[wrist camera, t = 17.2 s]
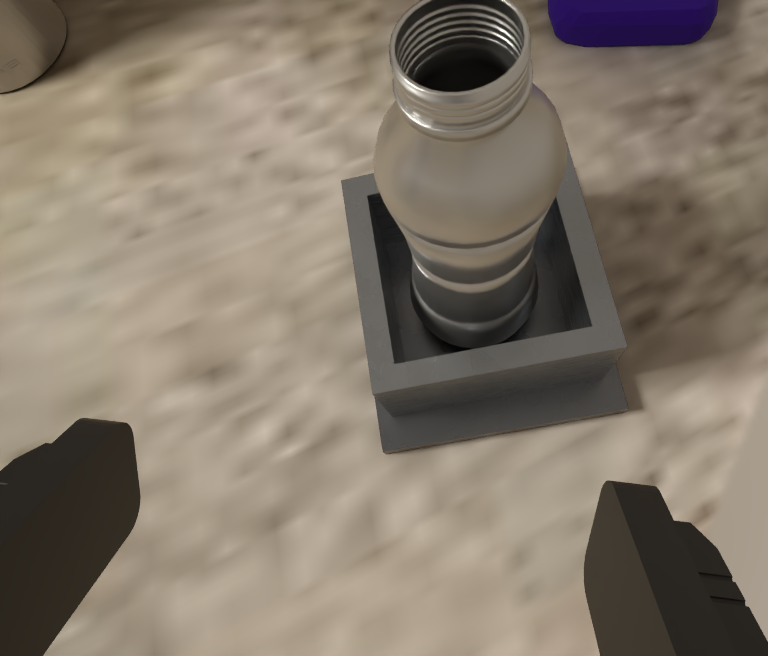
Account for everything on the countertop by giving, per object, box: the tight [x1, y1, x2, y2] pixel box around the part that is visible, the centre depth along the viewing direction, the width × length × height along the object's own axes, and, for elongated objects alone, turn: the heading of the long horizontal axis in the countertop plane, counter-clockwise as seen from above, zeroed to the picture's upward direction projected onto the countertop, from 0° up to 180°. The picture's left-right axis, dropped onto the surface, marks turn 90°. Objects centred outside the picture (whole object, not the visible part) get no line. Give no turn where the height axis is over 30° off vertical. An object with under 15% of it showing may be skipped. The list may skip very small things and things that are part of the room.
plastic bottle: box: [373, 0, 567, 348], centre depth 25 cm, size 6×7×20 cm
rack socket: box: [341, 138, 628, 454], centre depth 33 cm, size 15×13×7 cm
